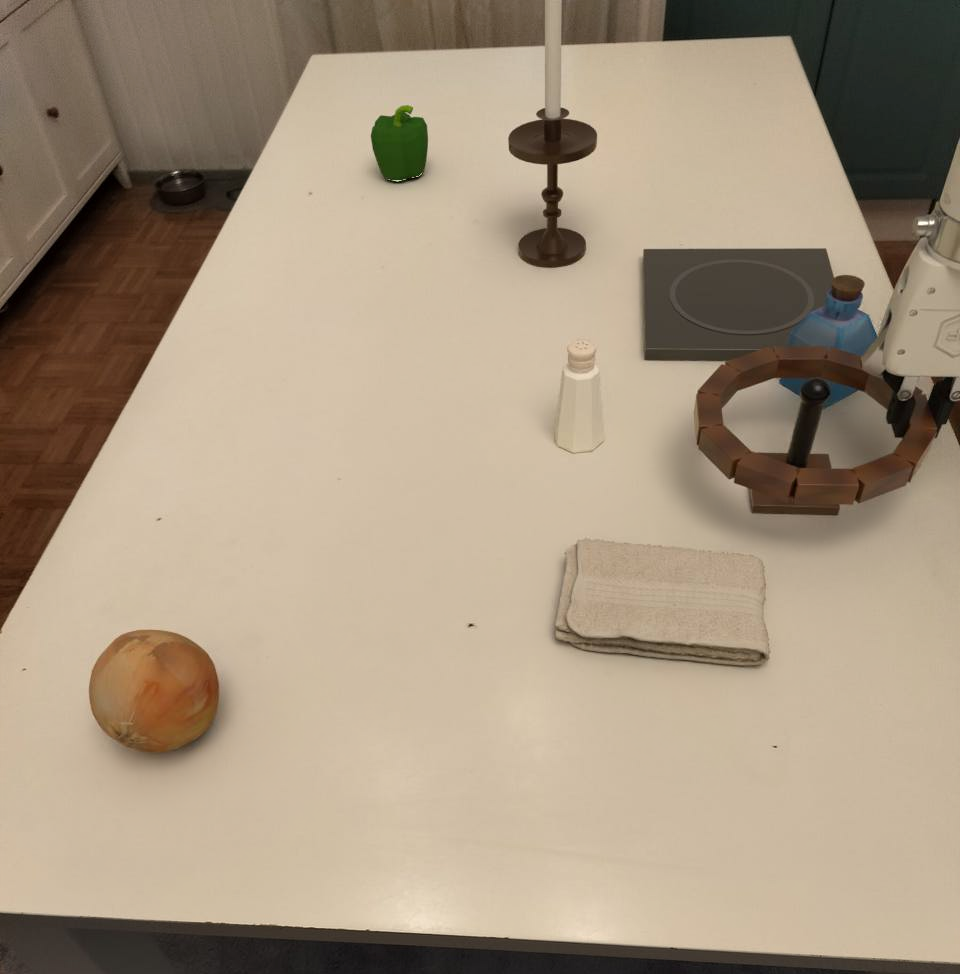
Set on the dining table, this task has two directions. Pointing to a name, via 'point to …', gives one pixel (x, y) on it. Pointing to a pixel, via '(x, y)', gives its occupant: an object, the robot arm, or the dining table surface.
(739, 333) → the hob
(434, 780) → the dining table surface
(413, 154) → the bell pepper
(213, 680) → the onion
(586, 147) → the candlestick
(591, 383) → the pepper shaker
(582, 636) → the washcloth
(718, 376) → the ring
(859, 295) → the perfume bottle
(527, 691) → the dining table surface
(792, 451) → the post
